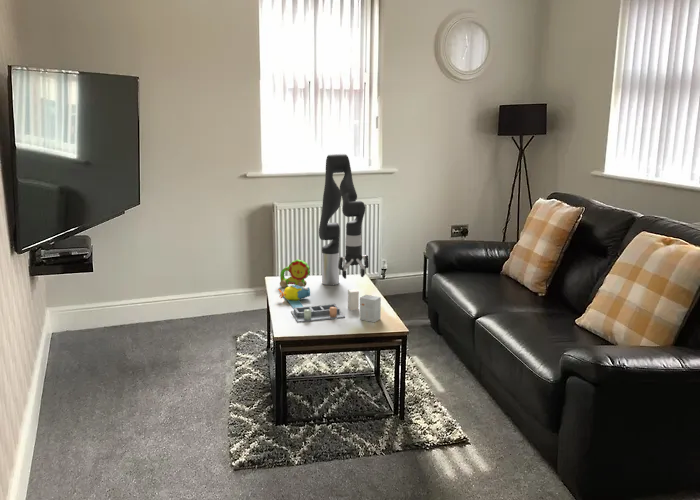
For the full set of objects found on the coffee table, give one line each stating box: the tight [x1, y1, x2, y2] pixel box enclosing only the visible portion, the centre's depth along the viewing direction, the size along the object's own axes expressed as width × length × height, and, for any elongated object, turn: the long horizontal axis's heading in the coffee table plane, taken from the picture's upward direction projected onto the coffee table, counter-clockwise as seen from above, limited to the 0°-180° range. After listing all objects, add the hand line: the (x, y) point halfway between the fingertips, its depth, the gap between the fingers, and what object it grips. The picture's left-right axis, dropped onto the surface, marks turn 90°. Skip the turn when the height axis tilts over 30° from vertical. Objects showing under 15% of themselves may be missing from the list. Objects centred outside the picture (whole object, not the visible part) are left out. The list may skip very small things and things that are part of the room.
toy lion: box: [279, 258, 311, 288], centre depth 329 cm, size 16×5×15 cm, turn 76°
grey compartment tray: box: [290, 303, 346, 324], centre depth 288 cm, size 14×22×5 cm, turn 107°
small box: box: [359, 294, 382, 323], centre depth 283 cm, size 8×6×10 cm
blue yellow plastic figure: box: [278, 284, 311, 310], centre depth 309 cm, size 28×9×15 cm
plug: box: [347, 288, 360, 311], centre depth 297 cm, size 4×4×9 cm
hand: (353, 277), depth 294 cm, fingers open, 8 cm apart
